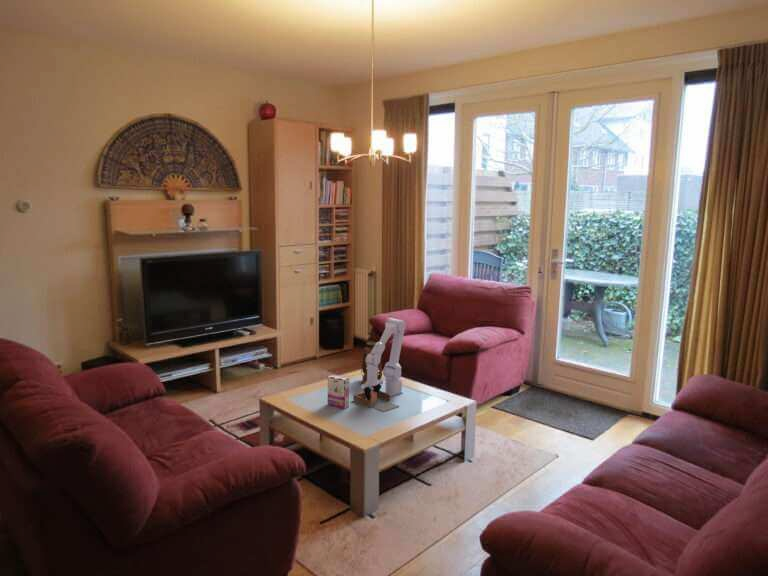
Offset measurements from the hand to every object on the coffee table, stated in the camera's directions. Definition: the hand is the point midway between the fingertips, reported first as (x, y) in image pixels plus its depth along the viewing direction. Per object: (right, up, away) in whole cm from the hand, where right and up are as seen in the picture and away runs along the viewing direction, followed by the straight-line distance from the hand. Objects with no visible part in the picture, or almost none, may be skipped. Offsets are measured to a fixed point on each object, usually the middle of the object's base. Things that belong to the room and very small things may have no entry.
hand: (371, 398), depth 304 cm
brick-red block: (0, -1, 0) cm, 2 cm away
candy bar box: (-18, -3, -8) cm, 20 cm away
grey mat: (+8, -3, -8) cm, 12 cm away
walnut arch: (0, -1, 0) cm, 1 cm away
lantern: (-1, +4, +30) cm, 31 cm away
